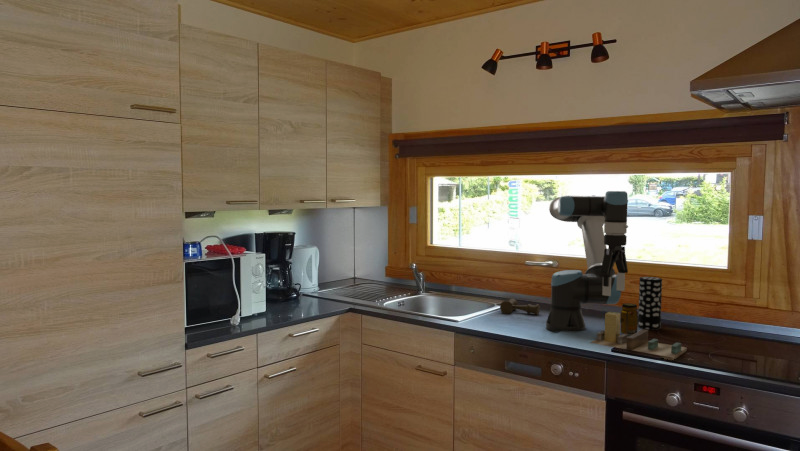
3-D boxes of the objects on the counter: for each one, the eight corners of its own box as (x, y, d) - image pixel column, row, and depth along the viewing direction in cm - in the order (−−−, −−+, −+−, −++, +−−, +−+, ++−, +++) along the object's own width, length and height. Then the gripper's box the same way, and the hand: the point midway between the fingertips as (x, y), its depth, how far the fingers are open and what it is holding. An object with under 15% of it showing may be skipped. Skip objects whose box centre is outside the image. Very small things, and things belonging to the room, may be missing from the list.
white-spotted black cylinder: (662, 326, 236) (663, 277, 235) (658, 330, 229) (660, 280, 228) (640, 323, 240) (641, 276, 239) (636, 327, 234) (637, 278, 232)
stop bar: (604, 340, 209) (605, 313, 209) (608, 338, 212) (609, 311, 212) (615, 342, 207) (616, 315, 206) (619, 340, 210) (620, 313, 209)
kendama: (535, 318, 253) (492, 312, 262) (541, 314, 261) (499, 309, 271) (536, 304, 253) (492, 299, 262) (542, 301, 261) (499, 296, 270)
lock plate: (589, 345, 207) (589, 331, 206) (606, 336, 219) (607, 323, 219) (673, 360, 189) (673, 345, 188) (686, 350, 201) (687, 336, 200)
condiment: (616, 332, 226) (617, 302, 225) (639, 333, 225) (640, 302, 224) (623, 337, 218) (623, 306, 218) (645, 337, 218) (647, 306, 217)
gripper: (612, 236, 195) (611, 299, 196) (637, 232, 214) (636, 289, 215) (591, 235, 200) (589, 296, 201) (617, 231, 219) (615, 287, 220)
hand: (613, 293), depth 208 cm, fingers open, 13 cm apart
